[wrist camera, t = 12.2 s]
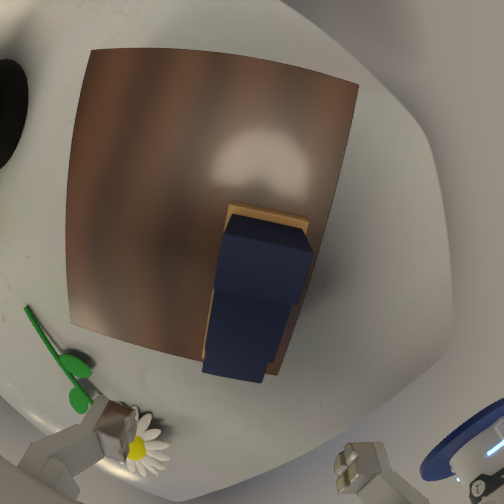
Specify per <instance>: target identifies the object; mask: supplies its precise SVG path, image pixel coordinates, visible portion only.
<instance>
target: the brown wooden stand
mask: <svg viewBox="0 0 504 504" xmlns="http://www.w3.org/2000/svg"><path fill="white" fill-rule="evenodd" d="M358 89H359V85H358V84H355V83H352V82H349V81H346V80H343V79H340V78H336V77H333V76H330V75H326V74H323V73H319V72H316V71H312V70H308V69H304V68H300V67H296V66H292V65H288V64H283V63H279V62H274V61H269V60H264V59H258V58H253V57H247V56H241V55H234V54H227V53H219V52H210V51H200V50H188V49H170V48H114V49H98V50H91V53H90V57H89V60H88V64H87V68H86V72H85V76H84V80H83V84H82V88H81V93H80V97H79V102H78V107H77V113H76V118H75V124H74V130H73V137H72V144H71V152H70V160H69V170H68V182H67V198H66V271H67V286H68V298H69V308H70V317H71V323H72V324H74V325H77V326H80V327H82V328H85V329H88V330H91V331H94V332H97V333H100V334H103V335H106V336H109V337H112V338H115V339H118V340H122V341H125V342H128V343H131V344H135V345H138V346H142V347H145V348H149V349H153V350H156V351H160V352H164V353H168V354H172V355H175V356H180V357H184V358H188V359H192V360H197V361H201V362H204V359H203V358H202V352H203V346H204V340H205V333H206V327H207V321H208V315H209V309H210V303H211V298H212V292H213V286H214V280H215V275H216V269H217V263H218V258H219V253H220V247H221V242H222V237H223V232H224V226H225V221H226V216H227V211H228V206H229V204H230V202H231V201H233V202H238V203H242V204H247V205H252V206H256V207H261V208H266V209H270V210H275V211H279V212H284V213H288V214H292V215H297V216H301V217H305V218H307V220H308V221H309V224H308V228H307V232H306V237H307V239H308V241H309V243H310V246H311V248H312V250H313V252H314V254H313V258H312V261H311V265H310V268H309V271H308V274H307V278H306V281H305V284H304V287H303V291H302V294H301V297H300V300H299V303H298V305H297V306H296V305H292V308H291V311H290V315H289V318H288V321H287V324H286V327H285V330H284V333H283V336H282V339H281V342H280V345H279V348H278V351H277V354H276V357H275V360H274V363H268V366H267V369H266V372H265V374H270V375H278V372H279V370H280V367H281V364H282V362H283V359H284V356H285V353H286V350H287V348H288V345H289V342H290V339H291V336H292V333H293V330H294V327H295V324H296V322H297V319H298V316H299V313H300V309H301V306H302V303H303V300H304V297H305V294H306V291H307V288H308V285H309V281H310V278H311V275H312V272H313V268H314V265H315V262H316V259H317V255H318V252H319V248H320V245H321V241H322V238H323V235H324V231H325V227H326V224H327V220H328V217H329V213H330V209H331V206H332V202H333V198H334V194H335V190H336V186H337V182H338V178H339V174H340V170H341V166H342V162H343V158H344V154H345V150H346V145H347V141H348V136H349V132H350V127H351V123H352V118H353V113H354V109H355V104H356V99H357V94H358Z"/></svg>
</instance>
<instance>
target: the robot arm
mask: <svg viewBox="0 0 504 504" xmlns="http://www.w3.org/2000/svg"><path fill="white" fill-rule="evenodd" d="M135 416H136V409H133V408H130V407H127V406H124V405H122V404H119V403H116V402H113V401H111V400H108V399H106V398H103V397H100V396H98V397H97V398H96V399H95V400H94V402H93V404H92V405H91V407H90V409H89V411H88V412H87V414H86V416H85V417H84V419H83V421H82V423H81V424H80V425H79V424H75V425H73V426H71V427H69V428H66V429H64V430H62V431H60V432H57V433H55V434H53V435H50V436H48V437H46V438H43V439H41V440H38V441H36V442H34V443H31V445H30V446H29V448H28V450H27V451H26V453H25V454H24V456H23V458H22V459H21V461H20V463H19V464H18V466H17V467H16V466H15V465H13V464H12V463H10V462H9V461H8V460H6V459H5V458H3V457H2V456H1V455H0V504H83V503H81V502H79V501H77V498H78V495H79V493H80V489H79V487H78V485H77V484H76V482H75V481H74V479H73V477H74V476H76V475H77V474H79V473H80V472H82V471H84V470H85V469H87V468H89V467H90V466H92V465H93V464H95V463H96V462H98V461H99V460H101V459H102V458H104V456H105V457H108V458H111V459H114V460H117V461H120V462H123V463H125V461H126V459H127V456H128V454H129V451H130V449H129V444H130V443H132V442H133V441H134V438H135V435H136V431H137V421H136V420H135ZM449 464H450V466H451V471H452V473H454V472H455V474H456V475H457V477H458V478H457V480H458V481H460V482H461V484H462V486H463V487H464V489H465V490H466V491H468V492H469V493H470V495H469V498H470V500H471V503H472V504H504V416H502V417H501V418H499V419H498V420H497V421H496V422H495V423H493V424H492V425H491V426H490V427H488V428H487V429H485V430H484V431H482V432H481V433H479V434H478V435H476V436H475V437H474V438H472V439H471V440H470V441H468V442H467V443H466V444H465V445H464V446H463V447H461V448H460V449H459V450H458V451H457V452H456V453H455V454H454V456H453V457H452V458H451V460H450V462H449ZM334 471H335V473H336V475H337V476H338V477H339V478H338V479H337V481H336V483H337V490H338V494H350V493H357V496H358V497H359V498H360V499H361V500H362V502H363V503H364V504H429V500H428V499H427V498H426V497H424V496H423V495H422V494H421V493H420V492H418V491H417V490H416V489H415V488H414V487H412V486H411V485H410V484H409V483H408V482H407V481H405V480H404V479H403V478H402V477H401V476H400V475H398V474H397V473H396V472H392V470H391V466H390V463H389V460H388V457H387V453H386V450H385V448H384V444H383V443H382V442H361V443H360V442H359V443H347V444H346V445H345V446H344V451H342V452H341V453H339V454H338V455H337V457H336V459H335V462H334Z"/></svg>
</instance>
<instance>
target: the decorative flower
mask: <svg viewBox="0 0 504 504" xmlns="http://www.w3.org/2000/svg"><path fill="white" fill-rule="evenodd" d="M24 310H25V312H26V314H27V315H28V317H29V319H30V321H31V322H32V324H33V326H34V327H35V329H36V331H37V332H38V334H39V336H40V337H41V339H42V340H43V342H44V343H45V345H46V346H47V348H48V350H49V351H50V352H51V354H52V355H53V357H54V358H55V360H56V361H57V363H58V364H59V365H60V367H61V368H62V370H63V371H64V372H65V374H66V375H67V376H68V378H69V379H70V380H71V382H72V383H73V384H74V386H75V387H76V388H73V389H71V391H70V394H69V398H70V403H71V405H72V407H73V408H74V410H75V411H76V412H77V413H80V414H84V413H86V412H87V409H88V403H89V404H90V405H92V404H93V402H94V401H93V400H92V399H91V398H90V396H89V395H88V394H87V393H86V391H85V390H84V389H83V388H82V386H81V385H80V384H79V383H78V381H77V380H76V379H75V377H74V376H73V375H75V376H77V377H81V378H87V377H90V376H91V374H92V371H91V370H90V368H89V367H88V366H87V365H86V364H85V363H84V362H83V361H82V360H80V359H78V358H76V357H75V356H73V355H68V354H63V355H58V354H57V352H56V351H55V349H54V348H53V346H52V345H51V343H50V342H49V340H48V339H47V337H46V336H45V334H44V332H43V331H42V329H41V328H40V326H39V324H38V323H37V321H36V319H35V317H34V316H33V314H32V312H31V311H30V309H29V307H28V306H26V307H24ZM72 374H73V375H72ZM120 404H122V403H120ZM132 408H133V409H136V416H135V420H136V421H137V431H136V435H135V438H134V441H133V442H132V443H130V444H129V449H130V451H129V454H128V456H127V459H126V461H127V466H128V468H129V470H130V472H131V473H132V474H133V473H135V470H136V466H137V468H138V470H139V472H140V473H141V474H142V476H144V477H147V471H146V468H147V469H149V470H150V471H151V472H152V473H154V474H155V475H159V473H158V472H157V470H156V469H159V470H165V467H164V466H163V464H162V463H161V462H160V461H158V460H161V461H169V460H171V459H170V457H169V456H168V455H166V454H165V453H163V452H161V451H159V450H163V449H166V448H168V447H169V444H168V443H166V442H163V441H156V440H153V439H155V438H156V437H157V436H158V435H159V434H160V433H161V430H160V429H150V430H147V428H148V426H149V425H150V422H151V419H152V415H151V414H146V415H144V416H143V417H142V418H141V419H140V420H139V421H138V419H139V413H138V408H137V407H136V405H134V406H132ZM146 430H147V431H146ZM157 459H158V460H157ZM126 461H125V462H126ZM119 463H120V464H124V463H123V462H120V461H119ZM135 464H136V465H135ZM145 467H146V468H145ZM155 468H156V469H155Z"/></svg>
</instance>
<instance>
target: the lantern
mask: <svg viewBox="0 0 504 504" xmlns="http://www.w3.org/2000/svg"><path fill="white" fill-rule="evenodd" d="M27 105H28V85H27V79H26V76H25V73H24V71H23V69H22V68H21V66H20V65H19V64H18V63H16V62H15V61H13V60H9V59H2V60H0V169H1V168H2V167H3V166H4V165H5V164H6V163H7V161H8V160H9V159H10V157H11V156H12V154H13V152H14V150H15V149H16V147H17V144H18V142H19V139H20V137H21V134H22V130H23V127H24V123H25V118H26V114H27Z"/></svg>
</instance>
